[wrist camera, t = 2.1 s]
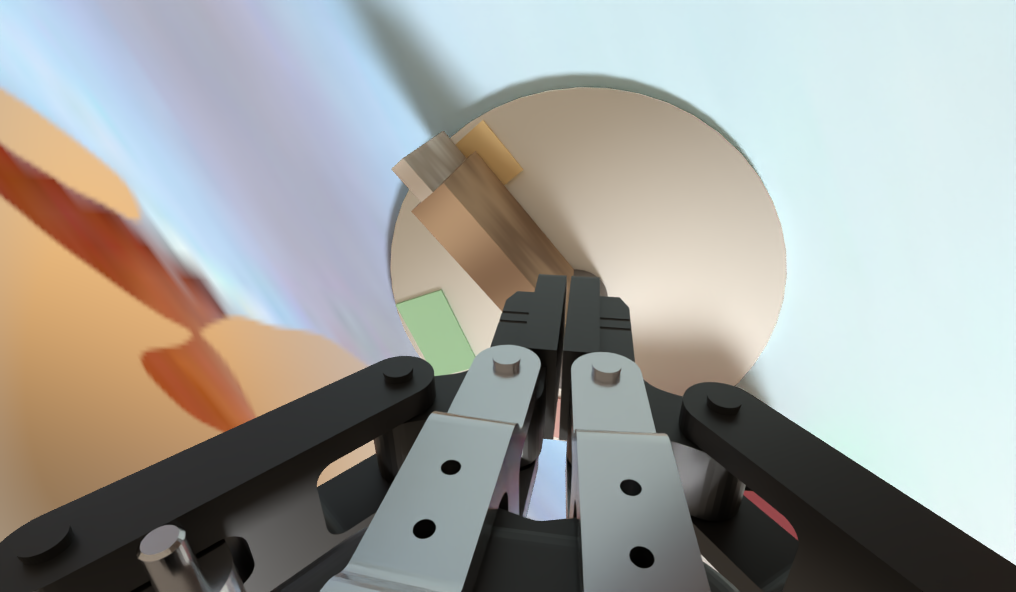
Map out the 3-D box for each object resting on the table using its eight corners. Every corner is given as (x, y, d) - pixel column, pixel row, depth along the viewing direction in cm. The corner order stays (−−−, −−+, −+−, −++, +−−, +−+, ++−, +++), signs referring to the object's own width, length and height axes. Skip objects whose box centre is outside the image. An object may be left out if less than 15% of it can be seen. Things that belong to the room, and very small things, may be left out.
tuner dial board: (626, -23, 26) (626, -25, 25) (859, 330, 32) (865, 337, 32) (321, 255, 36) (315, 260, 35) (546, 481, 43) (545, 489, 42)
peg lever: (620, 304, 33) (625, 374, 26) (570, 335, 35) (563, 408, 28) (463, 112, 29) (423, 137, 22) (415, 157, 31) (363, 193, 24)
